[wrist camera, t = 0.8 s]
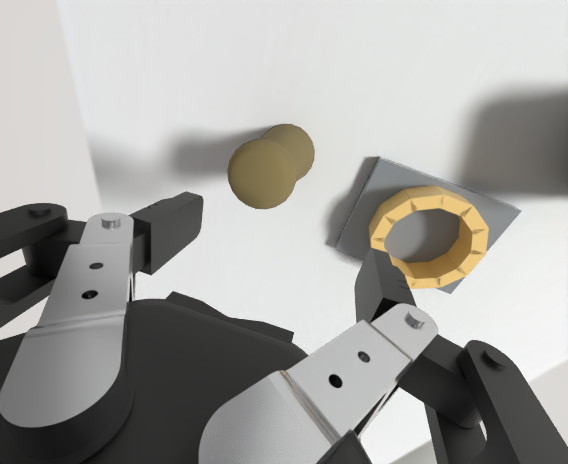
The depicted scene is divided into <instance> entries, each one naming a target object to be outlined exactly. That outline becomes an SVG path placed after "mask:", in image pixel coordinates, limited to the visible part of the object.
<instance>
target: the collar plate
mask: <svg viewBox="0 0 568 464" xmlns="http://www.w3.org/2000/svg"><path fill="white" fill-rule="evenodd" d="M520 212H521V210H519V209H518V208H516V207H514V206H512V205H509V204H506V203H504V202H501V201H498V200H495V199H493V198H490V197H487V196H485V195H482V194H479V193H477V192H474V191H471V190H468V189H466V188H463V187H460V186H458V185H455V184H452V183H449V182H447V181H444V180H441V179H439V178H436V177H433V176H430V175H428V174H425V173H422V172H420V171H417V170H414V169H411V168H409V167H406V166H403V165H401V164H398V163H395V162H393V161H390V160H387V159H384V158H382V157H379V158H378V160H377V162H376V164H375V166H374V168H373V170H372V172H371V174H370V176H369V178H368V180H367V182H366V184H365V186H364V188H363V190H362V192H361V195H360V197H359V199H358V201H357V203H356V205H355V207H354V209H353V211H352V213H351V215H350V217H349V219H348V221H347V223H346V225H345V227H344V229H343V231H342V233H341V235H340V237H339V239H338V241H337V243H336V250H338V251H341V252H343V253H346V254H349V255H351V256H354V257H356V258H359V259H362V260H365V258H366V255H367V253H368V251H369V249H370V248H375V249H378V250H381V251H385V252H388V253H389V256H390V259H391V262H392V265H394V266H397V267H398V268H399V269H400V270H401V271H402V272H403V273H404V275H405V277H406V280H407V284H408V285H409V288H411V289H415V288H436V289H439V290H442V291H444V292H447V293H449V294H451V293H452V292H453V291H454V290H455V288H456V287H457V286H458V285H459V284H460V282H461V281H462V280H463V279H464V278H465V277H466V276H467V275H468V274H469V273H470V272H471V271H472V270H473V268H474V267H475V266H476V265H477V264H478V263H479V261H480V260H481V259H482V258H483V257H484V256H485V254H486V252H487V251H488V250H489V249H490V247H491V246H492V245H493V244H494V243H495V242H496V240H497V239H498V238H499V237H500V236H501V234H502V233H503V232H504V231H505V230H506V229H507V227H508V226H509V225H510V224H511V223H512V222H513V220H514V219H515V218H516V217H517V216H518V215H519V213H520Z"/></svg>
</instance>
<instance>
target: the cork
mask: <svg viewBox="0 0 568 464" xmlns="http://www.w3.org/2000/svg"><path fill="white" fill-rule="evenodd" d="M314 151H315V150H314V147H313V143H312V140H311V139H310V137H309V136H308V134H307V133H306V132H305V131H304V130H302V129H301V128H300V127H297V126H295V125H292V124H281V125H278V126H275V127H273V128H272V129H270V130H269V131H268V132H267V133H266V134H265V135H264V136H263V137H262V138H261V139H256V140H253V141H250V142H247V143H244V144H243V145H242V146H240V147H239V148H238V149H237V150H236V151H235V153H234V154H233V156H232V158H231V160H230V161H229V166H228V181H229V184H230V186H231V189H232V191H233V192H234V194H235V195H236V196H237V198H238V199H239V200H240V201H242V202H243V203H244V204H246V205H248V206H250V207H253V208H255V209H269V208H273V207H276V206H278V205H280V204H281V203H283V202H284V201H286V199H287V198H288V197H289V196H290V194H291V193H292V191H293V188H294V186H295V183H296V181H297V180H299V179H300V178H302V177H303V176H305V175H306V174H307V172H308V171H309V170H310V169H311V167H312V164H313V161H314Z"/></svg>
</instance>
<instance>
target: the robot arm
mask: <svg viewBox="0 0 568 464" xmlns="http://www.w3.org/2000/svg"><path fill="white" fill-rule="evenodd" d="M202 211H203V197H202V196H200V195H197V194H193V193H190V192H184V193H181V194H179V195H177V196H175V197H173V198H169V199H163V200H160V201H158V202H156V203H154V205H153V204H152V205H150V206H147V208H146V207H145V208H143V209H141V210H139V211H137V212H135V213H133V214H130V215H125V214H121V213H103V214H98V215H95V216H93V217H91V218H89V219H88V221H87V222H82V221H74V220H68V216H67V210H66V208H65V207H63V206H61V205H57V204H51V203H36V204H29V205H24V206H20V207H17V208H14V209H11V210H8V211H4V212H2V213H0V258H2V257H4V256H6V255H8V254H10V253H12V252H14V251H17V250H19V249H21V248H22V251H23V254H24V258H25V262H26V265H24V266H22V267H20V268H19V269H17V270H15V271H13V272H11V273H9V274H7V275H5V276H3V277H1V278H0V328H1V327H2V326H4V325H5V324H7V323H8V322H10V321H11V320H13V319H14V318H16V317H17V316H19V315H20V314H22V313H23V312H25V311H26V310H28V309H29V308H31V307H32V306H34V305H35V304H37V303H38V302H40V301H41V300H43V299H44V298H46V297H47V296H49V297H48V300H47V302H46V305H45V307H44V310H43V312H42V315H41V317H40V320H39V322H38V324H37V325H36V326H35V327H33V328H31V329H29V330H28V331H27V332H26V333H23V334H19V335H16V336H13V337H9V338H6V339H3V340H0V464H372V463H371V461H370V459H369V457H368V455H367V453H366V452H365V450H364V448H363V446H362V444H361V443H360V441H359V438H360V436H361V435H362V434H363V432H364V431H365V430H366V428H367V427H368V426H369V424H370V423H371V422H372V421H373V419H374V418H375V417H376V416H377V415H378V413H379V412H380V411H381V410H382V409H383V407H384V406H385V405H386V404H387V403H388V401H389V400H390V399H391V398H392V397H393V395H394V394H395V393H396V392H397V391H398V389H399V388H402V389H403V390H405V391H406V392H408V393H409V394H411V395H413V396H414V397H416V398H417V399H419V400H420V401H422V402H423V403H424V405H425V410H426V414H427V419H428V424H429V428H430V433H431V437H432V442H433V446H434V451H435V455H436V460H437V464H568V447H567V445H566V443H565V442H564V440H563V439H562V437H561V435H560V434H559V432H558V431H557V429H556V427H555V426H554V424H553V423H552V421H551V420H550V418H549V416H548V415H547V413H546V412H545V410H544V409H543V407H542V405H541V404H540V402H539V400H538V399H537V397H536V396H535V394H534V393H533V391H532V390H531V388H530V386H529V385H528V383H527V381H526V380H525V378H524V377H523V375H522V373H521V372H520V370H519V369H518V367H517V366H516V365H515V364H514V362H513V361H512V360H511V359H510V358H508V357H507V356H506V355H505V354H504V353H502V352H501V351H499V350H498V349H496V348H495V347H493V346H491V345H489V344H487V343H485V342H482V341H478V340H471V341H469V342H468V343H467V344H466V346H465V347H464V348H462V347H460V346H458V345H456V344H454V343H452V342H451V341H449V340H447V339H445V338H443V337H442V336H440V335H438V334H437V333H438V327H437V325H436V323H435V321H434V320H433V319H432V318H431V317H430V316H429V315H428V314H427V313H425V312H424V311H422V310H421V309H419V308H417V306H416V304H415V301H414V298H413V296H412V293H411V290H410V288H409V285H408V284H407V280H406V277H405V275H404V273H403V272H402V271H401V270H400V269H399V268H398V267H397V266H394V265H392V262H391V259H390V256H389V253H388V252H385V251H381V250H378V249H375V248H370V249H369V251H368V253H367V255H366V258H365V260H364V262H363V264H362V267H361V269H360V271H359V273H358V276H357V279H356V282H355V305H356V322H357V324H355V325H354V326H352V327H351V328H349V329H348V330H346V331H345V332H343V333H342V334H340V335H339V336H337V337H336V338H334V339H333V340H331V341H330V342H329V343H327V344H326V345H324V346H323V347H321V348H320V349H318V350H317V351H315V352H314V353H312V354H311V355H307V354H306V353H305V352H304V351H303V350H302V349H301V348H299V347H298V346H297V345H295V344H293V343H292V339H293V335H294V332H292V331H289V330H286V329H283V328H280V327H277V326H274V325H271V324H268V323H265V322H260V321H253V320H245V319H237V318H230V317H227V316H225V315H224V314H222V313H221V312H219V311H217V310H216V309H214V308H212V307H211V306H209V305H207V304H206V303H204V302H203V301H200V300H197V299H194V298H192V297H189V296H186V295H183V294H180V293H177V292H174V291H173V292H172V293H171V294H170V295H169V296H168V297H167V298H166V299H143V300H136V301H135V288H136V273H137V272H138V271H140V272H143V273H146V274H149V275H152V274H153V273H155V272H156V271H157V270H158V269H159V268H161V267H162V266H163V265H164V264H165V263H167V262H168V261H169V260H170V259H171V258H173V257H174V256H175V255H176V254H177V253H179V252H180V251H181V250H182V249H183V248H185V247H186V246H187V245H188V244H189V243H191V242H192V241H193V240H194V239H195V238H196V237H197V236H198V234H199V232H200V229H201V222H202ZM481 420H482V421H483V423H484V426H485V428H486V434H487V442H486V440H485V437H484V434H483V432H482V429H481V427H480V424H479V422H481Z"/></svg>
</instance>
